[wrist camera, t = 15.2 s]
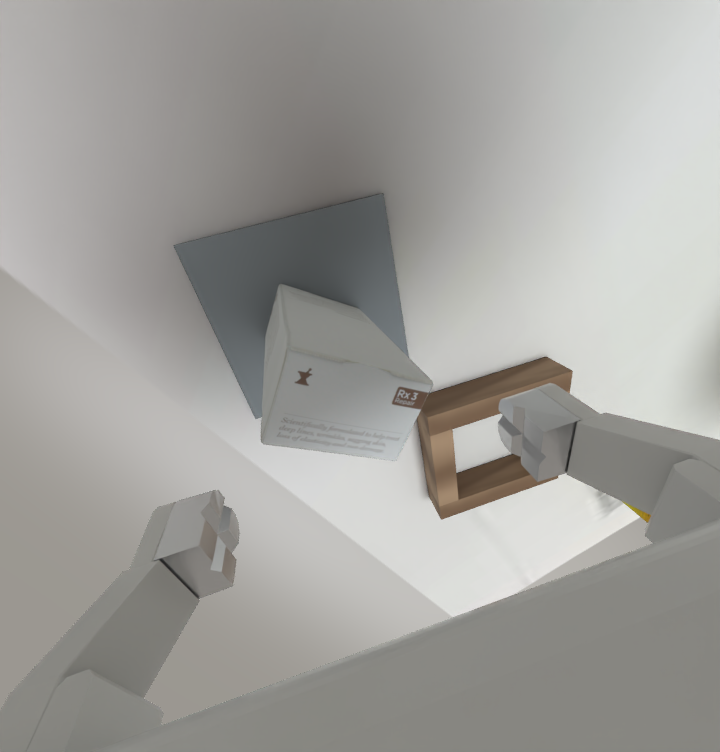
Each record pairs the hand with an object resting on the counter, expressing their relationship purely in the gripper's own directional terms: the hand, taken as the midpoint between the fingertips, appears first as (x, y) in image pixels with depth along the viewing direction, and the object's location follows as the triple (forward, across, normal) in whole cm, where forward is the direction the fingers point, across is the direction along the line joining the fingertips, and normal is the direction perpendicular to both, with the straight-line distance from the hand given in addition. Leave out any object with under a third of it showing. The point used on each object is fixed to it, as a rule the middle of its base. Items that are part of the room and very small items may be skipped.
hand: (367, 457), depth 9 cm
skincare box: (+15, 0, +1) cm, 15 cm away
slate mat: (+16, +1, +1) cm, 16 cm away
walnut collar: (+15, -12, +17) cm, 26 cm away
